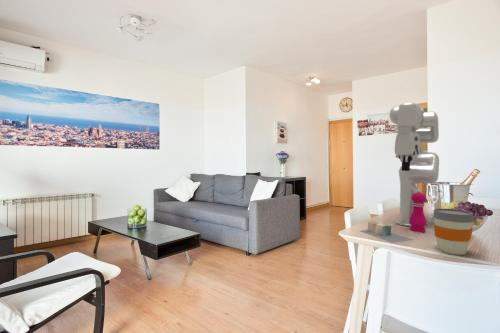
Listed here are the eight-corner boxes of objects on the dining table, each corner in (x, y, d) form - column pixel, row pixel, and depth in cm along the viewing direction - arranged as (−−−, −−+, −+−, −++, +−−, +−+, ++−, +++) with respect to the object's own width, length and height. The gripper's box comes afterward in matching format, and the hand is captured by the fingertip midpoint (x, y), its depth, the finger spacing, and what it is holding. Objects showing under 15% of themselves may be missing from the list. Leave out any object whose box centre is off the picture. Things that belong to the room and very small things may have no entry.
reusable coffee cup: (459, 258, 100) (461, 216, 99) (424, 247, 111) (425, 209, 110) (479, 253, 105) (481, 213, 104) (444, 243, 116) (445, 207, 116)
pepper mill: (420, 233, 131) (421, 190, 131) (405, 230, 138) (406, 188, 137) (429, 231, 135) (431, 189, 134) (414, 228, 141) (416, 188, 140)
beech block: (390, 235, 127) (375, 230, 135) (391, 225, 126) (375, 220, 135) (383, 236, 125) (367, 231, 133) (383, 226, 125) (368, 221, 133)
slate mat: (378, 229, 138) (378, 228, 138) (413, 240, 120) (413, 239, 120) (358, 231, 134) (358, 230, 134) (392, 243, 116) (392, 242, 116)
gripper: (428, 129, 124) (426, 171, 125) (399, 132, 138) (398, 169, 139) (415, 129, 122) (414, 171, 122) (387, 131, 136) (386, 170, 136)
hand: (405, 170), depth 131 cm, fingers closed
